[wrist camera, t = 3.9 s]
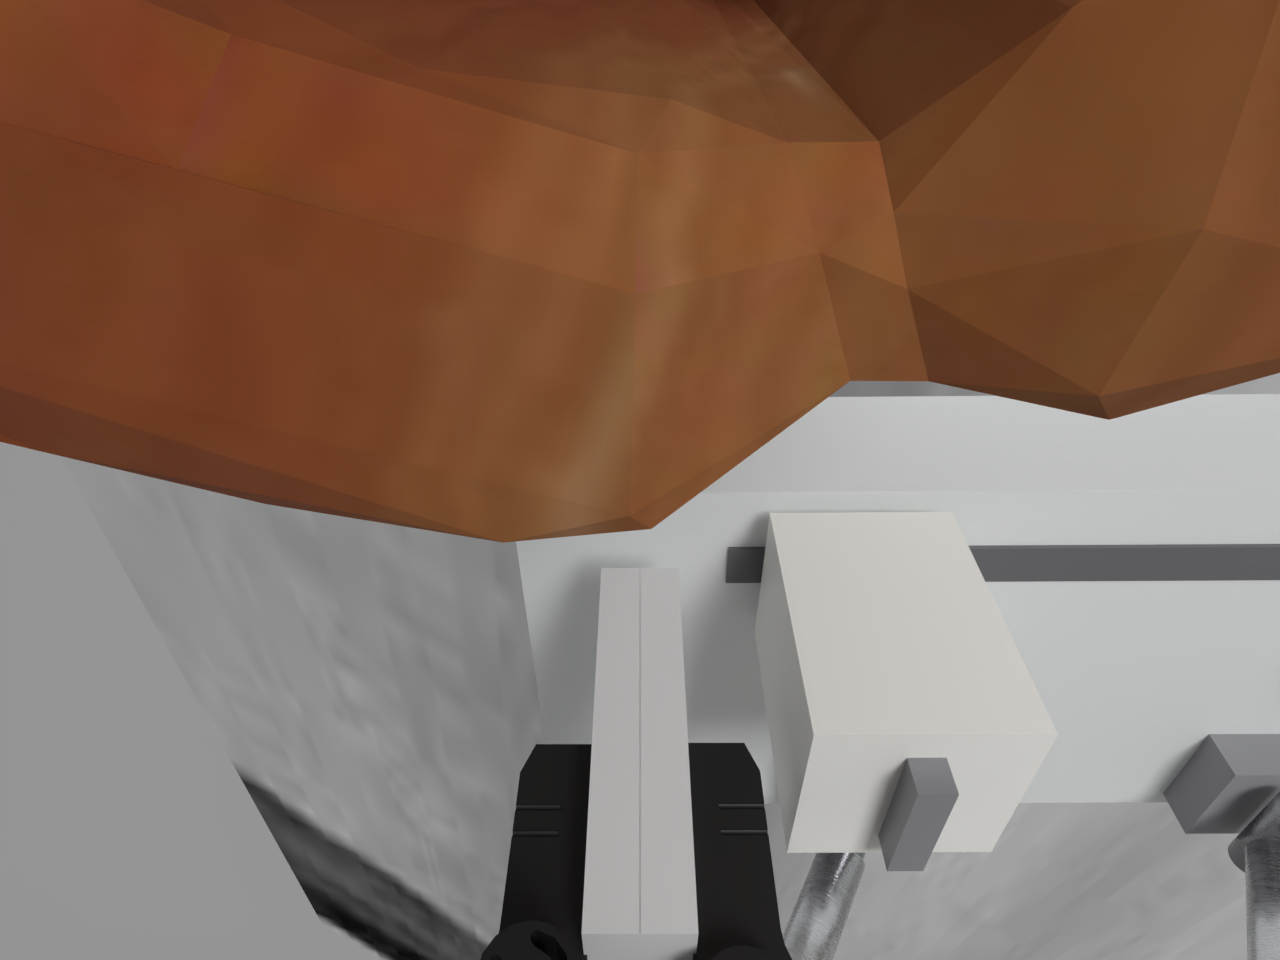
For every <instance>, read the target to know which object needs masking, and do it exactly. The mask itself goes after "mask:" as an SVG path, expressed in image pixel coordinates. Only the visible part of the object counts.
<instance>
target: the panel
mask: <svg viewBox="0 0 1280 960" xmlns="http://www.w3.org/2000/svg"><path fill="white" fill-rule="evenodd" d="M840 512H952V513H953V515H954V517H955V519H956V521H957V523H958V525H959V527H960V529H961V531H962V534H963V536H964V538H965V540H966V542H967V544H968V546H969V548H970V550H971V552H972V555H973V557H974V559H975V561H976V563H977V565H978V567H979V569H980V571H981V574H982V576H983V578H984V580H985V582H986V584H987V586H988V588H989V590H990V592H991V595H992V597H993V599H994V601H995V603H996V605H997V607H998V609H999V611H1000V613H1001V616H1002V618H1003V620H1004V622H1005V624H1006V626H1007V628H1008V630H1009V632H1010V634H1011V637H1012V639H1013V641H1014V643H1015V645H1016V647H1017V649H1018V651H1019V653H1020V655H1021V658H1022V660H1023V662H1024V664H1025V666H1026V668H1027V670H1028V672H1029V674H1030V677H1031V679H1032V681H1033V683H1034V685H1035V687H1036V689H1037V691H1038V693H1039V695H1040V698H1041V700H1042V702H1043V704H1044V706H1045V708H1046V710H1047V712H1048V714H1049V716H1050V719H1051V721H1052V723H1053V725H1054V727H1055V729H1056V731H1057V733H1058V736H1057V737H1056V739H1055V741H1054V743H1053V744H1052V746H1051V748H1050V750H1049V751H1048V753H1047V755H1046V757H1045V758H1044V760H1043V762H1042V764H1041V765H1040V767H1039V769H1038V771H1037V773H1036V774H1035V776H1034V778H1033V780H1032V781H1031V783H1030V785H1029V787H1028V788H1027V790H1026V792H1025V794H1024V795H1023V797H1022V799H1021V801H1020V802H1019V803H1124V802H1168V804H1169V805H1170V807H1171V809H1172V811H1173V812H1174V814H1175V816H1176V818H1177V820H1178V821H1179V823H1180V825H1181V827H1182V829H1183V830H1184V832H1185V834H1240V833H1241V832H1242V831H1243V829H1244V828H1245V827H1246V826H1247V825H1248V824H1249V823H1250V822H1251V821H1252V820H1253V819H1254V818H1255V817H1256V816H1257V815H1258V814H1259V813H1260V812H1261V811H1262V810H1263V808H1264V807H1265V806H1266V805H1267V804H1268V803H1269V802H1270V801H1271V800H1272V799H1273V798H1274V797H1275V796H1276V795H1277V794H1278V793H1279V792H1280V394H1201V395H1198V396H1194V397H1190V398H1187V399H1183V400H1180V401H1176V402H1172V403H1169V404H1165V405H1161V406H1158V407H1154V408H1151V409H1147V410H1143V411H1140V412H1136V413H1132V414H1129V415H1125V416H1122V417H1118V418H1114V419H1111V420H1108V419H1103V418H1098V417H1093V416H1089V415H1084V414H1079V413H1075V412H1070V411H1065V410H1061V409H1056V408H1051V407H1047V406H1042V405H1037V404H1033V403H1028V402H1023V401H1018V400H1014V399H1009V398H1004V397H1000V396H891V397H828V398H827V399H825V400H824V401H823V402H821V403H820V404H819V405H817V406H816V407H815V408H813V409H812V410H810V411H809V412H808V413H806V414H805V415H804V416H802V417H801V418H800V419H798V420H797V421H796V422H794V423H793V424H792V425H790V426H789V427H788V428H786V429H785V430H784V431H782V432H781V433H780V434H778V435H777V436H776V437H774V438H773V439H772V440H770V441H769V442H768V443H766V444H765V445H764V446H762V447H761V448H759V449H758V450H757V451H755V452H754V453H753V454H751V455H750V456H749V457H747V458H746V459H745V460H743V461H742V462H741V463H739V464H738V465H737V466H735V467H734V468H733V469H731V470H730V471H729V472H727V473H726V474H725V475H723V476H722V477H721V478H719V479H718V480H717V481H715V482H714V483H713V484H711V485H710V486H709V487H707V488H706V489H704V490H703V491H702V492H700V493H699V494H698V495H696V496H695V497H694V498H692V499H691V500H690V501H688V502H687V503H686V504H684V505H683V506H682V507H680V508H679V509H678V510H676V511H675V512H674V513H672V514H671V515H670V516H668V517H667V518H666V519H664V520H663V521H662V522H660V523H659V524H657V525H656V526H655V527H653V528H652V529H646V530H635V531H624V532H613V533H602V534H591V535H581V536H570V537H559V538H548V539H537V540H526V541H516V546H517V553H518V560H519V567H520V573H521V580H522V587H523V594H524V601H525V608H526V614H527V621H528V628H529V635H530V642H531V648H532V655H533V662H534V669H535V676H536V682H537V689H538V696H539V703H540V710H541V717H542V723H543V730H544V737H545V744H592V731H593V712H594V694H595V676H596V657H597V639H598V620H599V602H600V584H601V568H679V584H680V602H681V620H682V639H683V657H684V676H685V694H686V712H687V731H688V743H745V745H746V747H747V749H748V750H749V752H750V754H751V756H752V757H753V759H754V761H755V763H756V765H757V766H758V768H759V770H760V774H761V781H762V789H763V797H764V804H780V802H779V795H778V788H777V782H776V775H775V768H774V761H773V754H772V748H771V741H770V734H769V727H768V721H767V714H766V707H765V700H764V693H763V687H762V680H761V673H760V666H759V659H758V653H757V646H756V639H755V625H756V617H757V609H758V602H759V594H760V586H761V578H762V570H763V563H764V555H765V547H766V539H767V531H768V524H769V516H770V513H840Z"/></svg>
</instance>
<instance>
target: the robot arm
mask: <svg viewBox="0 0 1280 960" xmlns="http://www.w3.org/2000/svg"><path fill="white" fill-rule="evenodd" d="M480 960H792V958H791V956H790V954H789V952H788V950H787V948H786V946H785V943H784V939H783V935H782V931H781V926H780V918H779V911H778V903H777V896H776V888H775V880H774V873H773V865H772V857H771V850H770V842H769V835H768V827H767V819H766V812H765V808H764V797H763V789H762V781H761V774H760V770H759V768H758V766H757V765H756V763H755V761H754V759H753V757H752V756H751V754H750V752H749V750H748V749H747V747H746V745H745V743H688V731H687V712H686V694H685V676H684V657H683V639H682V620H681V602H680V584H679V568H601V584H600V602H599V620H598V639H597V657H596V676H595V694H594V712H593V731H592V744H536V745H535V747H534V749H533V750H532V752H531V754H530V756H529V757H528V759H527V761H526V763H525V765H524V766H523V768H522V770H521V772H520V777H519V785H518V792H517V800H516V810H515V815H514V823H513V835H512V838H511V846H510V853H509V861H508V869H507V876H506V884H505V892H504V899H503V907H502V914H501V922H500V930H499V934H497V935H496V936H495V937H494V938H493V940H492V941H491V942H490V944H489V945H488V946H487V948H486V949H485V950H484V952H483V953H482V956H481V959H480Z"/></svg>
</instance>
